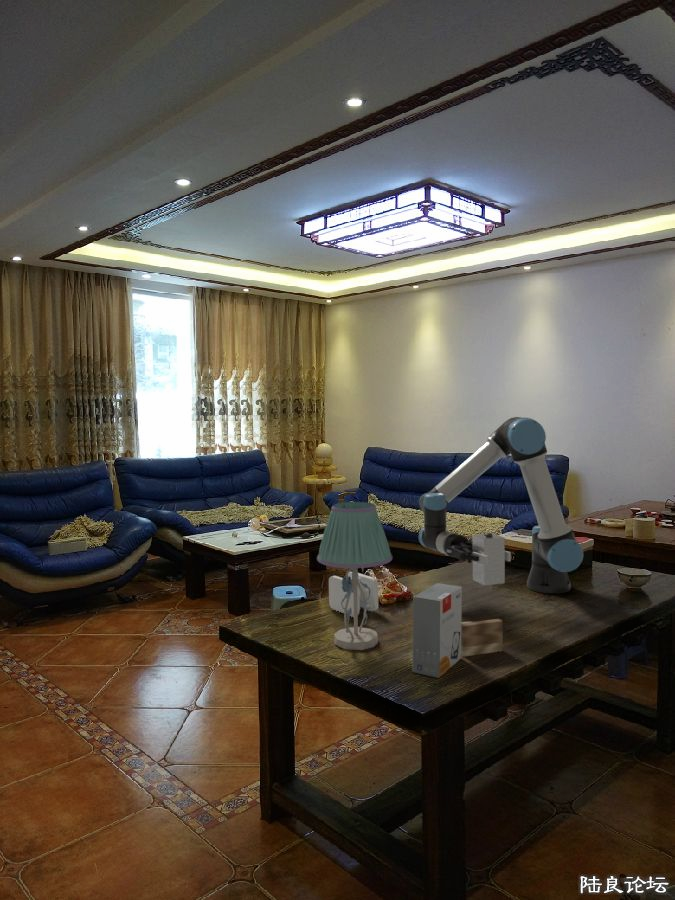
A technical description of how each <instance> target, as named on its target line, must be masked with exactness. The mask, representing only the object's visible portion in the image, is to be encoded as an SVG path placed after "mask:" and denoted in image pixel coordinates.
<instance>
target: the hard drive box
mask: <svg viewBox="0 0 675 900" xmlns="http://www.w3.org/2000/svg"><path fill="white" fill-rule="evenodd" d="M462 588H463V587H462V586H458V585H452V584H445V583H440V582H439V583H438V582H436V583H434V584H433V585H431V586H430V587H428V588H426V589H424V590H423V591H421V592H420V593H418V594H416V595H414V596H413V597H412V657H411V658H412V660H411V661H412V664H411V667H412V668H411V669H412V672H413V673H416V674H420V675H424V676H427V677H428V676H429V677H432V678H437V679H439V678H441V677H442V676H443V675H445V674H446V673H447V672H448V671H449V670H450V669H451V668H452V667H453V666H454V665H456V664H457V663H458V662H459V661H460V660H461V659H462V655H461V623H462V616H463V615H462V611H463V609H462V605H463V604H462V600H463V599H462V598H463V597H462V594H463V593H462V591H463V589H462Z"/></svg>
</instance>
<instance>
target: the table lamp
mask: <svg viewBox="0 0 675 900" xmlns="http://www.w3.org/2000/svg"><path fill="white" fill-rule="evenodd" d="M392 560H393V554H392V553H391V549H390V545H389V543H388V539H387V536H386V533H385V530H384V528H383V525H382V523H381V520H380V518H379V514H378V511H377V506H376V504H374V503H371V502H365V501H348V502H347V501H346V502H338V503H334V504H333V505H332V506H331V511H330V513H329V517H328V521H327V524H326V526H325V527H324V531H323V535H322V539H321V542H320V545H319V550H318V554H317V556H316V561H317V562H318V563H319V564H322V565H324V566H327V567H333V568H340V569H342V568H343V569H347V570H346V574H345V576H344V577H342V578H343V579H342V584H343V585H342V590H343V592H347V594H346V595H345V596H344V599H343V600H342V602H341V605H342V603H343V601H344V600H345V599H346V598H347V601H346V605H345V608H343V605H342V608H343V609H344V613H343V615H344V616H343V623H344V627H345V628H341V629H339V630H338V631H336V632H335V633H334V634H333V643H334V645H335V646H337V647H339V648H341V649H344V650H352V651H353V650H354V651H356V650H357V651H364V650H367V649H368V650H369V649H371V648H375V646H376V645H378V643H379V638H378V637H379V636H378V632H377V631H375V630H374V629H372V628H368V627H363V626H365V625H366V624H367V621H368V620H367V619H368V614H367V611H366V609H367V605H366V601H367V600H368V599H369V596H370V592H371V591H370V588H369V587H368V586H367V584H363V583H362V582H361V581H360V583H361V584H362V585H363V586H364V587H365V588H368V589H369V596H368V597H367V599H366V598H365V594H364V592H363V590H362V587H361V585H360V583H359V579H358V573H359V571H358V569H361V571H362V572H361V573H364V568H374V567H380V566H384V565H386V564H389V563H390V562H391V561H392ZM349 572H352V580H351V577H350V576H348V573H349ZM357 585H358V587H359V589H360V591H361V593H362V596H363V598H364V602H363V601H361V605H362V606H363V608H362V609H363V618H362V620H361V623H360V626H359V625H358V623H359V622H358V620H359V617H358V616H359V615H358V603H357ZM351 592H352V593H354V617H353V627H349V622H350V616H349V615H351V613H352V609H351V608H350V609H349V610H348V611H347V606H348V602H349V599H350V596H351ZM346 613H347V615H346Z"/></svg>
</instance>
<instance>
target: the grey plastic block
mask: <svg viewBox="0 0 675 900" xmlns="http://www.w3.org/2000/svg"><path fill="white" fill-rule="evenodd" d="M348 576H350V577H351V580H352V571H349V573H348ZM342 579H343V577H341V576H338V575H332V576H330V577H329V578H328V602H329V603H328V605H329V606H330V608H331V609H332V610H334V611H335V610H336V611H335V612H337V611H339V612H338V613H340V612H341V613H342V614H344V609H343V608H345V605H346V601H347V598H346V599H345V600H344V601H343V603H342V605H343V608H342V605H341V602H342V600H343V599H344V596H345V595H346V594H347V592H343V590H342V585H343V584H342ZM358 579H359V583H360V581H361V582H362V583H363V584H367V586H368V587H369V588H370V591H371V592H370V596H369V589H368V588H365V587H364V586H363V585H362V584H361V583H360V585H361V587H362V590H363V592H364V594H365V598H366V599H367V597H368V596H369V599H368V600H367V601H366V605H367V609H366V612H367V610H368V612H370V611H371V612H370V613H372V612H373V611H377V610H378V609H379V583H378V580H377V579H376V578H375V577H374V576H373V577H372V576H370V575H366V574H364V573H360V572H358ZM361 601H363V602H364V598H363V596H362V593H361V591H360V589H359V587H358V585H357V603H358V616H359V615H360V610H361V608H362V609H364V608H363V606H362V605H361ZM350 608H351V609H352V613H351V615H349V617H350V616H351V617H350V618H352V617H353V618H354V593H352V592H351V596H350V599H349V602H348V606H347V611H348V610H349V609H350ZM346 614H347V613H346Z"/></svg>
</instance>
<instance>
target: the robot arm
mask: <svg viewBox="0 0 675 900" xmlns="http://www.w3.org/2000/svg"><path fill="white" fill-rule="evenodd" d="M545 431H546V430H545V429H544V426H543V425H542V424H541V423H540V422H538V421H537V420H535V419H533V418H530V417H521V416H520V417H519V416H514V417H511V418H508V419H507V420H505V421H504V422H503V423H502V424H501V425H500V426H498V428H497V429H495V430H494V431H493V432H492V433H491V434H490V435H489V436H488V437H487V439H486V442H485V443H484V444H483V445H482V446H481V447H479V448H478V449H477V450H475V452H473V453H472V454H471V455H469V457H468V458H466V460H464V461H463V462H462V463H461V464H459V465H458V467H456V468H455V469H454V470H452V471H451V472H450V473H449V474H448V475H447V476H446V477H445V478H444V479H442V480H441V481H440V482H438V484H437V485H435V486H434V487H433V488H432V489H431V490H429V491H428V492H425V493H424V494H422V495H421V496H420V498H419V503H418V504H419V505H418V506H419V508H420V510H421V512H422V513H423V521H424V522H423V523H424V524H423V525H424V526H423V527H422V528H421V530H420V531H419V534H418V541H419V543H420V544H421V546H423V547H424V548H427V549H428V550H431V551H435V552H437V553H440V554H444V555H445V556H447V557H448V556H449V557H452V558H455V559H458V560H459V561H461V562H465V561H466V560H467V563H468V564H471V563H472V564H473V561H474V562H478V563H481V564H484V565H488V556H486V555H483V554H480V553H477V552H473V543H472V541H468V539H467V538H466V537H465V536H464V535H463V534H460V533H459V534H457V533H454V532H452V531H448V530H447V506H448V504H449V503H450V502H452V500H453V499H455V498H456V497H458V495H460V494H461V493H462V492H463V491H464V490H465V489H466V488H468V487H469V486H470V485H471V484H472V483H474V482H475V481H476V480H477V479H478V478H479V477H480V476H481V475H483V474H484V473H485V472H486V471H487V470H489V469H490V468H491V467H492V466H494V465H495V464H496V463H497V462H498V461H499V460H500V459H502V458H507V457H508V456H510V455H511V459H512V461H513V462H514V463H515V464H517V465H519V468H520V471H521V473H522V474H521V475H522V478H523V481H524V484H525V486H526V489H527V493H528V496H529V499H530V502H531V505H532V509H533V511H534V515H535V518H536V520H537V524H538V525H534V526H533V527H532V532H531V568H530V571H529V574H528V577H527V581H526V588H528V589H529V590H530V591H533V592H537V593H543V594H565V593H567V592H570V591H571V581H570V578H569V574H568V572H572V571H574V570H577V568H578V567H579V566H580V565H581V564H582V562H583V559H584V550H583V548H582V546H581V544H580V543H579V541H577V539H576V536H575V532H574V531H573V528H572V527H573V526H571V525H569V524H567V523H566V521H565V518H564V515H563V510H562V507H561V505H560V502H559V498H558V495H557V492H556V489H555V486H554V483H553V480H552V477H551V474H550V471H549V468H548V465H547V462H546V458H545V457H546V456H547V454H548V450H547V446H546V440H547V439H546V437H547V435H546V432H545ZM511 558H512V552H511V551H507V550H505V562H511V561H512V559H511Z"/></svg>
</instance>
